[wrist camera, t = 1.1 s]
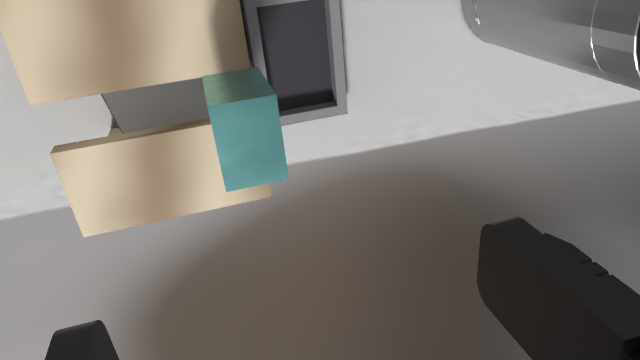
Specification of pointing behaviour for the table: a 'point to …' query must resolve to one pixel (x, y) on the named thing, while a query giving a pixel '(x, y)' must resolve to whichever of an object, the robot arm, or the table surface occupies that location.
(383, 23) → the table surface
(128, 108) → the small box
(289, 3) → the tray
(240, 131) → the slider
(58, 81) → the tunnel
